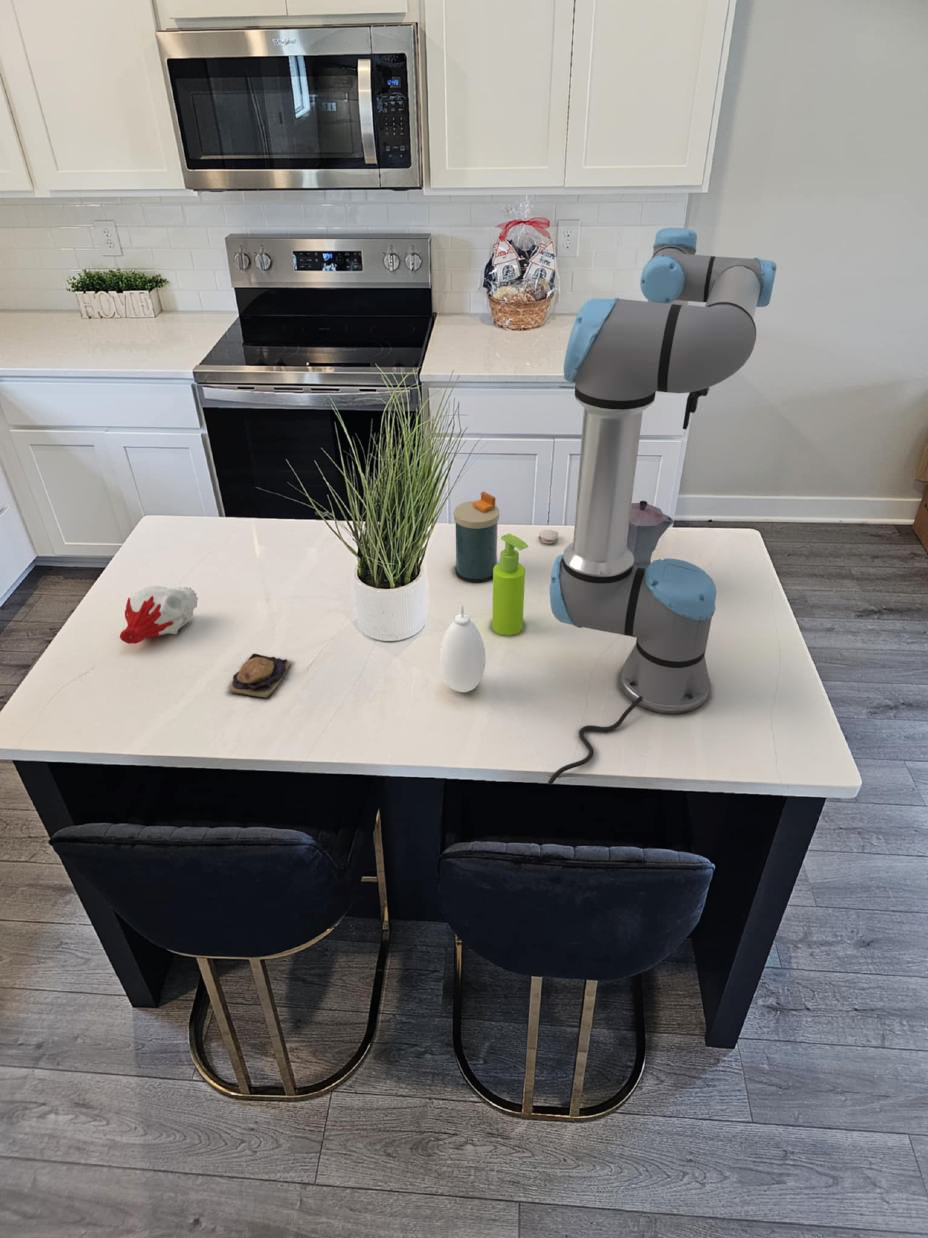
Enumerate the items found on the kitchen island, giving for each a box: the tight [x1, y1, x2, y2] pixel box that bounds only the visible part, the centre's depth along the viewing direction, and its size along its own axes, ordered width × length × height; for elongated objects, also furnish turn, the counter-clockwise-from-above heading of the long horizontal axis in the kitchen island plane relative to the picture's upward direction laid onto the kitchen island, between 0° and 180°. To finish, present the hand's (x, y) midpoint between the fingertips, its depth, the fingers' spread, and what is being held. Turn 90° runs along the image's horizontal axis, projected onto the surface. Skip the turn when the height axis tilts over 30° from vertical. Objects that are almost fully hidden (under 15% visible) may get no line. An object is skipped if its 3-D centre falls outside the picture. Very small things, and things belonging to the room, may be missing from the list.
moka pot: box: [626, 500, 675, 569], centre depth 170 cm, size 10×15×20 cm, turn 78°
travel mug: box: [453, 500, 500, 584], centre depth 177 cm, size 9×9×14 cm
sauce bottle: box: [439, 603, 486, 693], centre depth 144 cm, size 8×8×18 cm
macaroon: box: [538, 529, 559, 544], centre depth 191 cm, size 4×5×2 cm
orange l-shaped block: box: [473, 491, 496, 512], centre depth 173 cm, size 3×4×2 cm
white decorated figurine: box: [119, 585, 199, 644], centre depth 161 cm, size 9×11×15 cm
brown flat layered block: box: [229, 652, 291, 699], centre depth 151 cm, size 11×8×4 cm
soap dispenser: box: [491, 533, 529, 637], centre depth 158 cm, size 6×7×20 cm
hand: (652, 422), depth 175 cm, fingers open, 13 cm apart
